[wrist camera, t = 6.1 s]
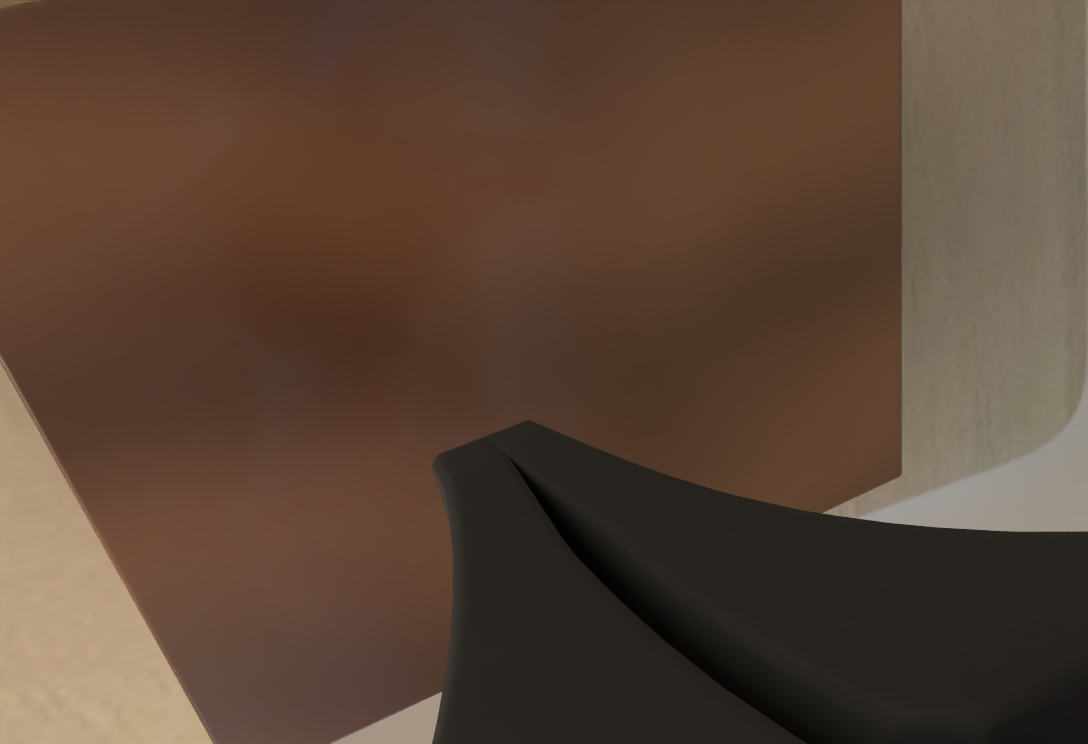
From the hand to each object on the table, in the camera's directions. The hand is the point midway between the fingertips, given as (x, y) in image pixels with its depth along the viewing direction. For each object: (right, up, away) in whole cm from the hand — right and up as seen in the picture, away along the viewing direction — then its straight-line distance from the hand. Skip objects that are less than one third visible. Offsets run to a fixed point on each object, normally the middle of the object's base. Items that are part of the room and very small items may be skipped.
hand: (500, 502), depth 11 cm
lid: (0, +3, +5) cm, 5 cm away
